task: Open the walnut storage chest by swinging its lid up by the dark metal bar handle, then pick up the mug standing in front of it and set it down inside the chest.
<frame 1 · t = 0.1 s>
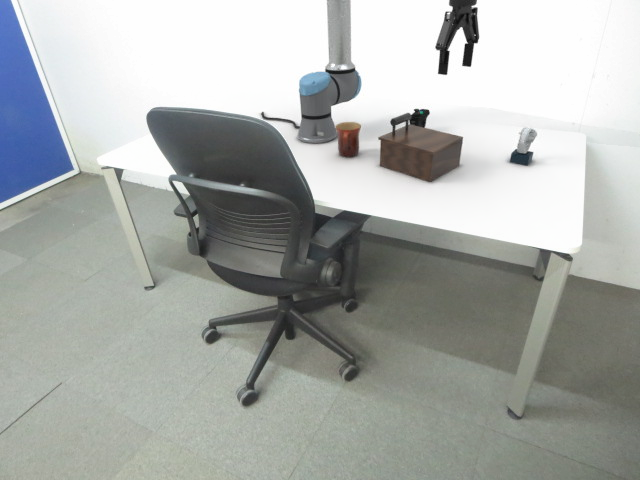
hand: (454, 70, 130), 28 cm above the table, tool pointing down, fingers open, 13 cm apart
mug: (348, 156, 150), on the table
lid: (420, 129, 134), point 12 cm above the table, hinge at 0.0°
white bust statue: (520, 162, 139), on the table
chest: (419, 165, 140), on the table
controller: (418, 133, 167), on the table
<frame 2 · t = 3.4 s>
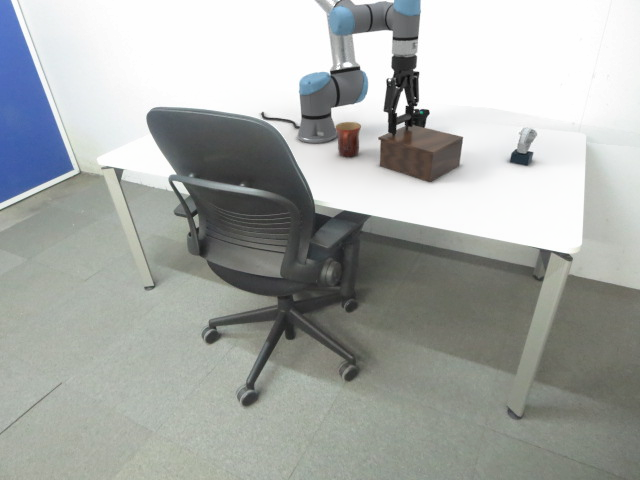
hand: (400, 129, 139), 11 cm above the table, tool pointing down, fingers closed on lid, 8 cm apart
lid: (420, 129, 134), point 12 cm above the table, hinge at 0.0°, touching gripper
everything else where it was.
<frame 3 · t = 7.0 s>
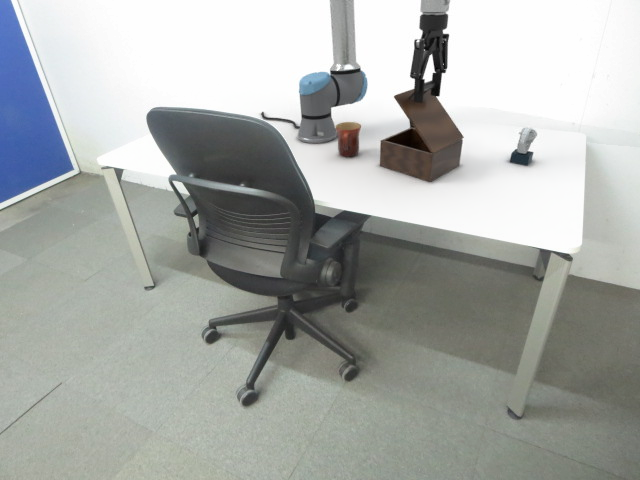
hand: (426, 98, 127), 22 cm above the table, tool pointing down, fingers closed on lid, 8 cm apart
lid: (435, 112, 127), point 18 cm above the table, hinge at 43.6°, touching gripper
everything else where it was.
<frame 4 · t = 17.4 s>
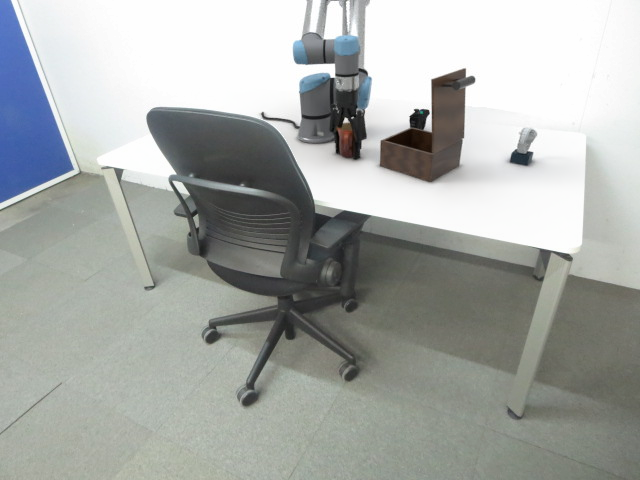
hand: (347, 155, 150), 0 cm above the table, tool pointing down, fingers closed on mug, 8 cm apart
mug: (349, 157, 149), on the table, touching gripper
lid: (457, 111, 122), point 20 cm above the table, hinge at 83.2°
everything else where it was.
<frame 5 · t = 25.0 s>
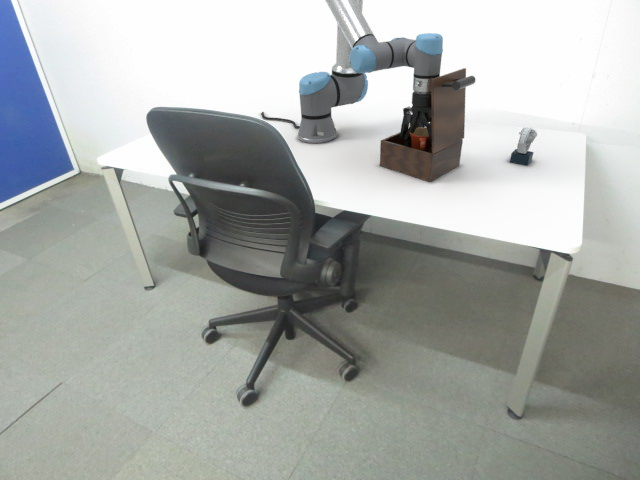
hand: (419, 162, 139), 1 cm above the table, tool pointing down, fingers closed on mug, 8 cm apart
mug: (421, 164, 139), point 1 cm above the table, touching gripper
everything else where it was.
when the fingers open (3 cm above the table, at t = 35.0 s): mug drops 2 cm, resting on chest.
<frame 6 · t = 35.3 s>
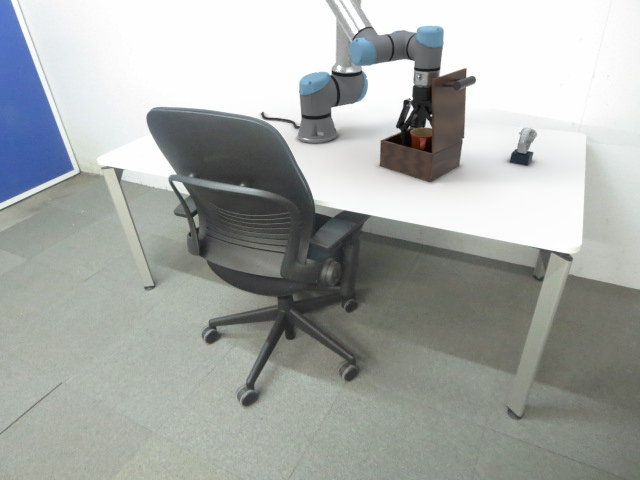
hand: (419, 154, 138), 4 cm above the table, tool pointing down, fingers open, 11 cm apart
mug: (421, 164, 139), point 1 cm above the table, touching chest
lid: (457, 111, 122), point 20 cm above the table, hinge at 83.8°, touching gripper, hand
everything else where it was.
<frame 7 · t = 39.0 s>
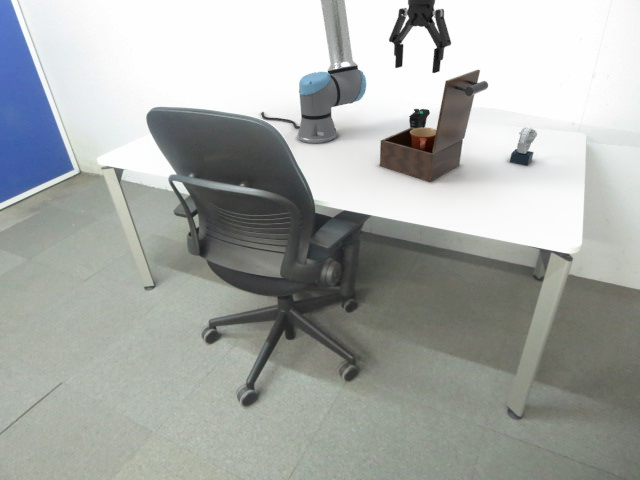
hand: (416, 69, 130), 29 cm above the table, tool pointing down, fingers open, 13 cm apart
lid: (464, 114, 121), point 19 cm above the table, hinge at 95.5°
everything else where it was.
at the end: lid at +96° (first picture: +0°); mug inside the target area in the chest (0.9 cm from its centre), point 0.6 cm above the chest's base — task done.
